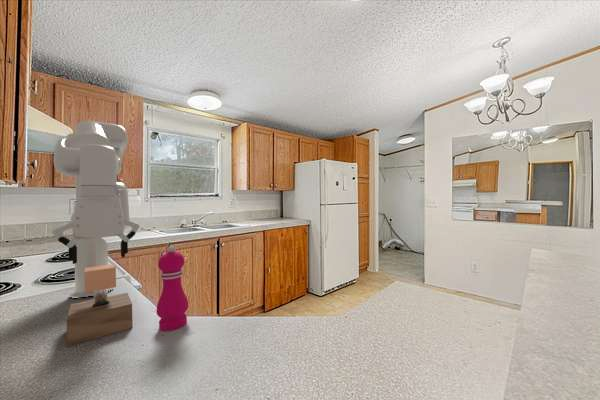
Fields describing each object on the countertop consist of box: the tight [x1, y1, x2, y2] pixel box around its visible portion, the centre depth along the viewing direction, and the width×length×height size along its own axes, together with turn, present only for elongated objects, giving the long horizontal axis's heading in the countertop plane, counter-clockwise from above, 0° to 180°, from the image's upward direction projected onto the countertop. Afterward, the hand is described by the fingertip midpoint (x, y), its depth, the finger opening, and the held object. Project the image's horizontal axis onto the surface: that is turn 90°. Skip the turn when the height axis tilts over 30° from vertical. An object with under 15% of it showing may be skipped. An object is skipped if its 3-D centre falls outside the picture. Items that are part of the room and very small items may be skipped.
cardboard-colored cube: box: [84, 263, 117, 293], centre depth 63 cm, size 6×6×5 cm
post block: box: [66, 292, 134, 347], centre depth 63 cm, size 12×12×6 cm
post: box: [93, 289, 108, 307], centre depth 63 cm, size 3×3×9 cm
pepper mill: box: [155, 245, 189, 332], centre depth 63 cm, size 7×7×20 cm
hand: (100, 259), depth 64 cm, fingers open, 9 cm apart
